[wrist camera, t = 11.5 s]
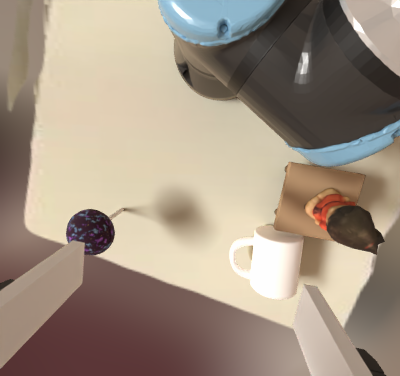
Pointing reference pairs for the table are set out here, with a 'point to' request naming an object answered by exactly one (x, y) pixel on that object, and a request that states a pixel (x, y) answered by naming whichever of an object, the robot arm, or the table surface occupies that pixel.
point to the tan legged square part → (311, 196)
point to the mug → (271, 261)
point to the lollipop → (92, 230)
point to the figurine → (344, 220)
